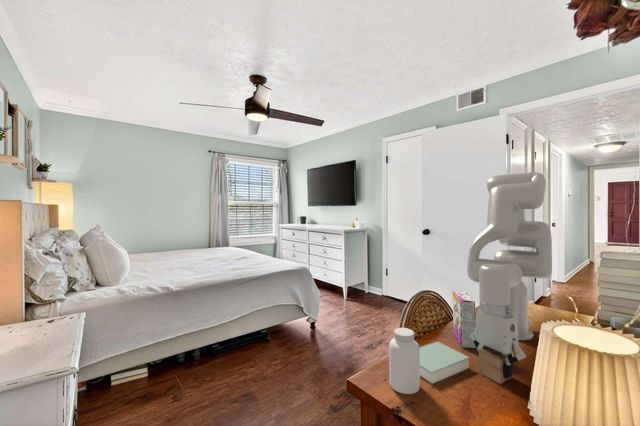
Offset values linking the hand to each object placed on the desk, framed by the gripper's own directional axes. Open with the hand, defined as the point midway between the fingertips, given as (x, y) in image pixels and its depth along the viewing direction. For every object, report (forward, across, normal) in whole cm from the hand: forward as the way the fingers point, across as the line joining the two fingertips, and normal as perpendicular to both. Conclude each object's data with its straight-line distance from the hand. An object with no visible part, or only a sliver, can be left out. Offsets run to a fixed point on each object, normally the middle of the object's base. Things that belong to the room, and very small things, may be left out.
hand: (495, 370), depth 81 cm
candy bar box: (+2, +18, -11) cm, 21 cm away
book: (+2, +12, +11) cm, 16 cm away
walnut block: (+1, 0, 0) cm, 1 cm away
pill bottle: (+2, +9, +26) cm, 28 cm away
